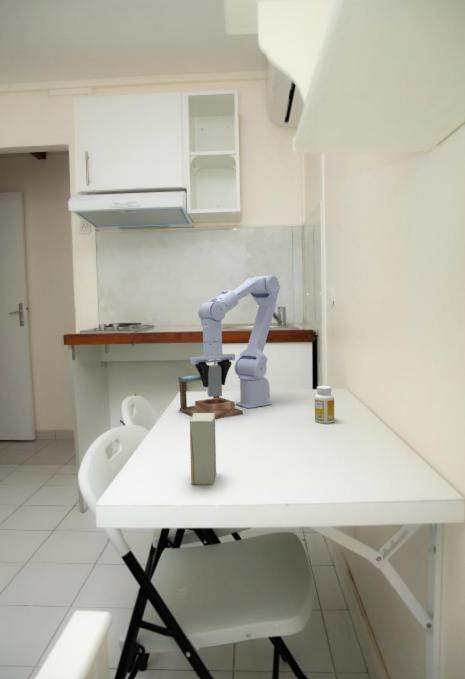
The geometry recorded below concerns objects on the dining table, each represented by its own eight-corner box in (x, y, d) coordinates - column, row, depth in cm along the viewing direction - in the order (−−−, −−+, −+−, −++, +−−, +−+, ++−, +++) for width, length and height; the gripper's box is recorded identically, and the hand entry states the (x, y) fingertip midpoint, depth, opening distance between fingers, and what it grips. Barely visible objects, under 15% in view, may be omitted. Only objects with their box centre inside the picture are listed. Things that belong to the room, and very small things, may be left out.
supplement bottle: (333, 418, 125) (332, 385, 125) (335, 423, 120) (335, 388, 119) (314, 418, 126) (313, 385, 125) (315, 423, 121) (315, 388, 120)
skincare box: (195, 472, 87) (192, 412, 86) (217, 472, 87) (215, 412, 86) (190, 485, 81) (188, 420, 80) (214, 485, 81) (212, 420, 80)
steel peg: (220, 393, 136) (219, 364, 136) (222, 396, 132) (221, 366, 132) (207, 394, 136) (206, 365, 135) (208, 396, 132) (207, 367, 131)
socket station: (217, 405, 148) (216, 372, 147) (242, 414, 134) (241, 378, 133) (179, 411, 141) (178, 377, 140) (202, 421, 127) (200, 383, 126)
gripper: (226, 339, 140) (228, 381, 141) (185, 342, 133) (187, 386, 134) (238, 340, 134) (239, 384, 135) (195, 343, 127) (197, 389, 128)
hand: (214, 385), depth 134 cm, fingers closed on steel peg, 5 cm apart
